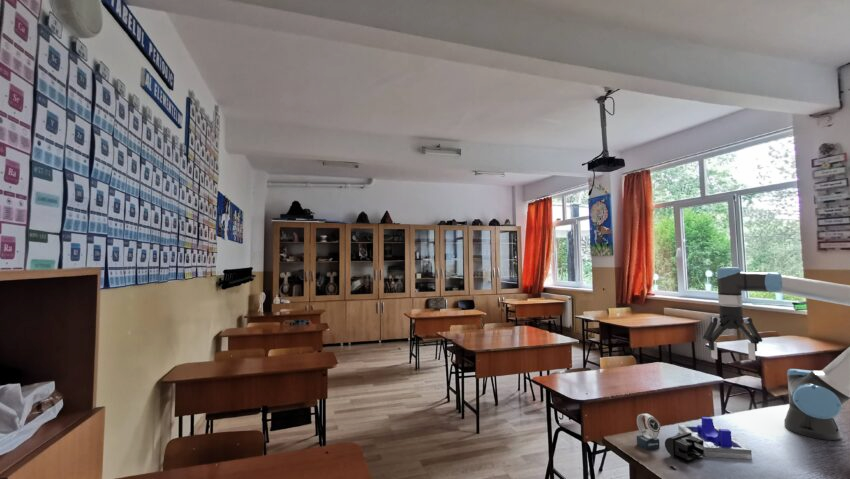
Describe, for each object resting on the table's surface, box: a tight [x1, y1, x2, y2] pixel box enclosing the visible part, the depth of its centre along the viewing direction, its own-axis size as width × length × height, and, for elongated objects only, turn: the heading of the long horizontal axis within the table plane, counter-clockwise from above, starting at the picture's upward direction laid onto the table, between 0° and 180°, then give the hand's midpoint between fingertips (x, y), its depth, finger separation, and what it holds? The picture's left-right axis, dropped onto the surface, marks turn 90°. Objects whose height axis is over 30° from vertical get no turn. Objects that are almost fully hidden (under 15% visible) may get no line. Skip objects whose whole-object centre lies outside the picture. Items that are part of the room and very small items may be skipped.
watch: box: [636, 412, 661, 451], centre depth 137 cm, size 6×8×11 cm
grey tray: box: [677, 424, 753, 460], centre depth 137 cm, size 14×18×3 cm
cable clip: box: [696, 416, 732, 447], centre depth 137 cm, size 12×4×6 cm, turn 172°
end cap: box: [664, 432, 705, 465], centre depth 129 cm, size 10×7×7 cm
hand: (733, 359), depth 153 cm, fingers open, 13 cm apart
